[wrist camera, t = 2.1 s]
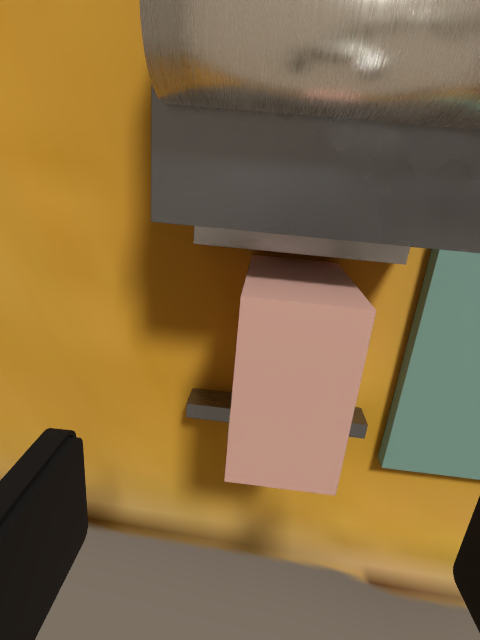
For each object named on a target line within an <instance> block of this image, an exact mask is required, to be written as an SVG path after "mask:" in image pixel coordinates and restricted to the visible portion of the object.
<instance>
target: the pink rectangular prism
mask: <svg viewBox="0 0 480 640" xmlns="http://www.w3.org/2000/svg"><path fill="white" fill-rule="evenodd" d="M375 314H376V309H375V308H374V307H373V306H372V305H371V303H370V302H369V301H368V300H367V298H366V297H365V296H364V295H363V293H362V292H361V291H360V290H359V288H358V287H357V286H356V285H355V284H354V282H353V281H352V280H351V279H350V277H349V276H348V275H347V274H346V272H345V271H344V270H343V269H342V268H341V266H340V265H339V264H338V263H332V262H322V261H312V260H302V259H292V258H282V257H272V256H262V255H252V257H251V261H250V264H249V268H248V272H247V275H246V279H245V283H244V286H243V290H242V294H241V299H240V311H239V322H238V333H237V344H236V356H235V367H234V378H233V389H232V401H231V410H230V415H229V427H228V446H227V457H226V468H225V479H224V481H225V482H233V483H241V484H249V485H256V486H264V487H272V488H280V489H288V490H296V491H304V492H312V493H320V494H328V495H336V491H337V486H338V482H339V477H340V473H341V468H342V464H343V459H344V455H345V450H346V446H347V441H348V436H349V432H350V427H351V423H352V418H353V414H354V409H355V405H356V400H357V396H358V391H359V387H360V382H361V377H362V373H363V368H364V364H365V359H366V355H367V350H368V346H369V341H370V337H371V332H372V328H373V323H374V318H375Z"/></svg>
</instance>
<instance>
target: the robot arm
mask: <svg viewBox="0 0 480 640" xmlns="http://www.w3.org/2000/svg"><path fill="white" fill-rule="evenodd" d="M87 529H88V516H87V501H86V485H85V469H84V454H83V441H82V439H81V438H77V437H76V433H75V432H74V431H72V430H63V429H54V428H49V429H46V430H45V431H44V432H43V433H42V434H41V435H40V437H39V438H38V439H37V440H36V441H35V442H34V443H33V444H32V446H31V447H30V448H29V449H28V450H27V451H26V452H25V453H24V455H23V456H22V457H21V458H20V459H19V460H18V461H17V462H16V464H15V465H14V466H13V467H12V468H11V469H10V470H9V471H8V473H7V474H6V475H5V476H4V477H3V478H2V479H1V481H0V640H35V638H36V636H37V634H38V632H39V630H40V628H41V626H42V624H43V622H44V620H45V618H46V616H47V614H48V612H49V610H50V608H51V606H52V604H53V602H54V600H55V598H56V596H57V594H58V592H59V590H60V588H61V586H62V584H63V582H64V580H65V578H66V576H67V574H68V572H69V570H70V568H71V566H72V564H73V562H74V560H75V558H76V556H77V554H78V552H79V550H80V548H81V546H82V544H83V542H84V540H85V537H86V534H87ZM453 575H454V579H455V583H456V585H457V587H458V589H459V591H460V593H461V595H462V597H463V599H464V602H465V604H466V606H467V608H468V610H469V611H470V614H471V616H472V618H473V620H474V622H475V624H476V626H477V628H478V630H479V632H480V497H479V499H478V502H477V505H476V507H475V510H474V512H473V515H472V518H471V520H470V523H469V526H468V528H467V531H466V534H465V536H464V539H463V542H462V544H461V547H460V550H459V552H458V555H457V558H456V560H455V563H454V566H453Z"/></svg>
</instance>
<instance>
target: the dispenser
mask: <svg viewBox="0 0 480 640" xmlns="http://www.w3.org/2000/svg"><path fill="white" fill-rule="evenodd" d="M140 16H141V27H142V36H143V44H144V51H145V57H146V62H147V67H148V72H149V76H150V79H151V83H152V119H151V222H159V223H170V224H180V225H190V226H194V244H202V245H212V246H223V247H233V248H243V249H253V250H263V251H273V252H283V253H294V254H304V255H314V256H324V257H334V258H344V259H355V260H365V261H375V262H385V263H395V264H405V265H406V262H407V258H408V254H409V249H410V247H419V248H429V249H439V250H450V251H460V252H471V253H480V0H140ZM231 401H232V393H227V392H218V391H210V390H201V389H192V392H191V394H190V397H189V399H188V402H187V413H186V417H189V418H197V419H206V420H214V421H223V422H229V415H230V410H231ZM367 426H368V424H367V422H366V419H365V417H364V414H363V412H362V409H361V408H356V407H355V409H354V414H353V418H352V423H351V427H350V432H349V436H348V437H356V438H365V434H366V430H367Z"/></svg>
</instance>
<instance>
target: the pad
mask: <svg viewBox="0 0 480 640" xmlns="http://www.w3.org/2000/svg"><path fill="white" fill-rule="evenodd" d="M378 459H379V462H380V464H381V467H382V468H388V469H396V470H404V471H413V472H421V473H429V474H437V475H445V476H453V477H461V478H470V479H478V480H480V253H471V252H460V251H450V250H439V249H432V250H431V253H430V257H429V261H428V265H427V269H426V273H425V277H424V281H423V284H422V288H421V292H420V296H419V300H418V304H417V308H416V312H415V315H414V319H413V323H412V327H411V331H410V335H409V339H408V343H407V346H406V350H405V354H404V358H403V362H402V366H401V370H400V374H399V378H398V381H397V385H396V389H395V393H394V397H393V401H392V405H391V409H390V412H389V416H388V420H387V424H386V428H385V432H384V436H383V440H382V443H381V447H380V451H379V455H378Z"/></svg>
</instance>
